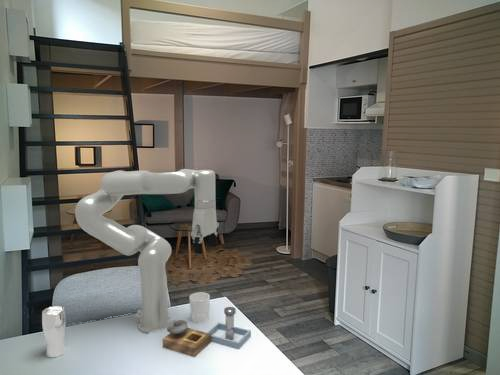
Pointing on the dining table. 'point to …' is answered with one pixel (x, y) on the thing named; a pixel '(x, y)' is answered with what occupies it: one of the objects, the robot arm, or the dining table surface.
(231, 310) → the lock pin
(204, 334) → the block
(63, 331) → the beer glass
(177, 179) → the robot arm
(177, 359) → the dining table surface
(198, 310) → the white cup
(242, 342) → the tray
